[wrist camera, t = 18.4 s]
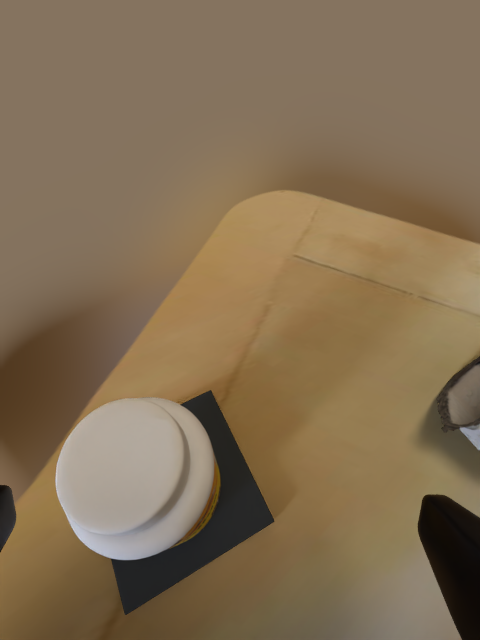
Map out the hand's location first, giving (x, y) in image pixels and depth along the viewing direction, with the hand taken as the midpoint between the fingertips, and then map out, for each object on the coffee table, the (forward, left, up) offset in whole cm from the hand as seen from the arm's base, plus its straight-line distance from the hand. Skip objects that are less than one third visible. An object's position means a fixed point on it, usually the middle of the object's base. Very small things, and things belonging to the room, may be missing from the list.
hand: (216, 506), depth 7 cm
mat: (-2, +3, -13) cm, 14 cm away
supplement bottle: (-2, +3, -13) cm, 14 cm away
